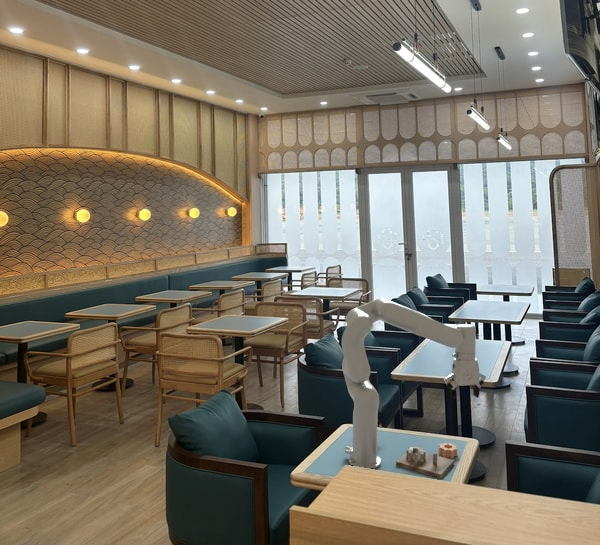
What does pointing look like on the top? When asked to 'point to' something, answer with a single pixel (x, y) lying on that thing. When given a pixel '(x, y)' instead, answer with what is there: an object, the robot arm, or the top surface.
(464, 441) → the top surface
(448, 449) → the terracotta gear
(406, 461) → the gear board
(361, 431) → the robot arm
